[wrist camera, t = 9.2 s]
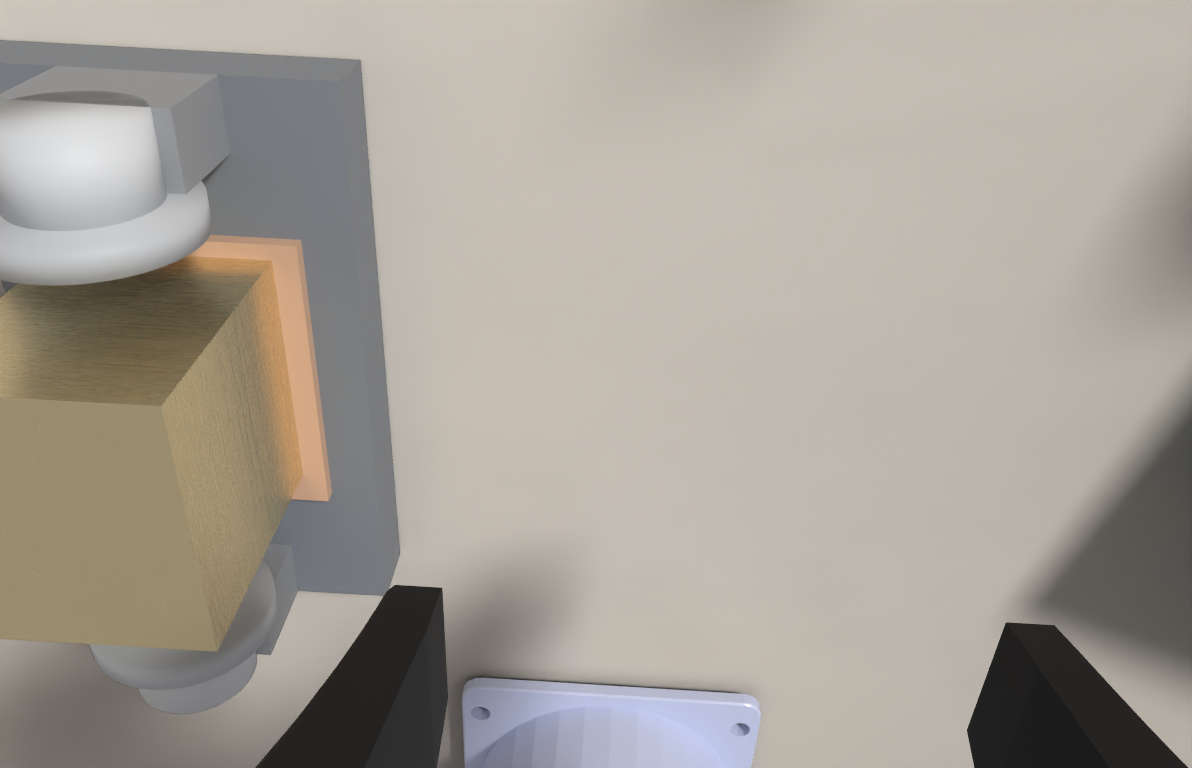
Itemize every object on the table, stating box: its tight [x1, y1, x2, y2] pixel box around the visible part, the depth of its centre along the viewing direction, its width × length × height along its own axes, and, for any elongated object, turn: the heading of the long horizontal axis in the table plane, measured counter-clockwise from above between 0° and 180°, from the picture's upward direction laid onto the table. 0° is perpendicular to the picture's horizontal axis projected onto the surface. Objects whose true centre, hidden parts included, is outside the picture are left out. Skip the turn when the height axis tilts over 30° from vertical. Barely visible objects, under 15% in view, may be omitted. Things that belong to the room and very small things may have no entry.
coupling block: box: [0, 256, 303, 652], centre depth 18 cm, size 5×4×5 cm
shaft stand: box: [0, 40, 400, 714], centre depth 19 cm, size 12×7×6 cm, turn 177°
